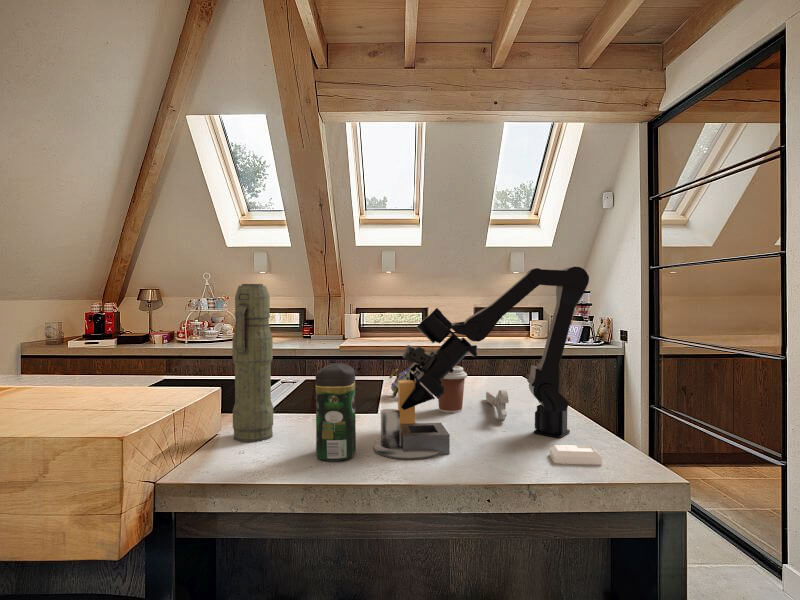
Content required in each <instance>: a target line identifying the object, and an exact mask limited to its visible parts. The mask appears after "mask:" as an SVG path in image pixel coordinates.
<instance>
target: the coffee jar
mask: <svg viewBox="0 0 800 600" xmlns="http://www.w3.org/2000/svg"><path fill="white" fill-rule="evenodd" d="M355 371H356V370H355V369H354V367H352V366H351V365H349V363H343V362H342V363H337V362H336V363H329V364H328V365H326V366H323V367H322V368H320V369H319V370H317V372H315V383H314V385H315V423H316V425H315V427H316V430H315V431H316V433H315V436H316V437H315V455H316V458H317V459H318V460H322V461H327V462H334V461H335V462H340V461H345V460H349V459H352V457H353V456H354V455H355V453H356V449H357V447H356V446H357V445H356V444H357V436H356V434H357V433H356V432H357V431H356V372H355Z"/></svg>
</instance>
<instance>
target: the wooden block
mask: <svg viewBox="0 0 800 600" xmlns="http://www.w3.org/2000/svg"><path fill="white" fill-rule="evenodd" d="M413 389H414V381H413V380H403V381H398V393H397V410H399V411H400V424H408V423H416V406H413V407H411V408H408V409H406V410H403V409H402V408H401V406H402V404H403V403H404V401H405V400H406V398H407V397H408V396H409V394H410V393H411V392H412V390H413Z"/></svg>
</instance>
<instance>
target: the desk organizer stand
mask: <svg viewBox="0 0 800 600" xmlns="http://www.w3.org/2000/svg"><path fill="white" fill-rule="evenodd" d="M450 441H451V440H450V433H449V431H448V430H447V429H446V428H445V426H444V425H443V424H442V422H420V423H419V422H417V423H416V422H415V423H408V424H400V411H399V410H398V409H397V408H396V409H394V408H386V409H381V411H380V438H379V439H377V440H375V442H374V443H373V450H374V452H375V453H376V454H377V455H379V456H381V457H384V458H388V459H392V460H393V459H394V460H400V461H401V460H402V461H404V460H405V461H412V460H413V461H414V460H415V461H416V460H426V459H431V458H434V457H437V456H440V455H450V454H451V452H450V451H451V449H450V445H451V444H450V443H451V442H450Z"/></svg>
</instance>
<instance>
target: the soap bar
mask: <svg viewBox="0 0 800 600" xmlns="http://www.w3.org/2000/svg"><path fill="white" fill-rule="evenodd" d="M549 457H550V458H551V460H552V462H553V464H566V463H567V464H568V465H569V464H570V465H572V464H573V465H574V464H575V465H598V466H599V465H601V466H602V465H603V457H602V455H601V454H600V453H599V452H598V451H597V449H595V448H594V447H593V446H592V445H571V444H569V445H567V444H566V445H565V444H562V445H561V444H553V445H552V446H550V447H549Z"/></svg>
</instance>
